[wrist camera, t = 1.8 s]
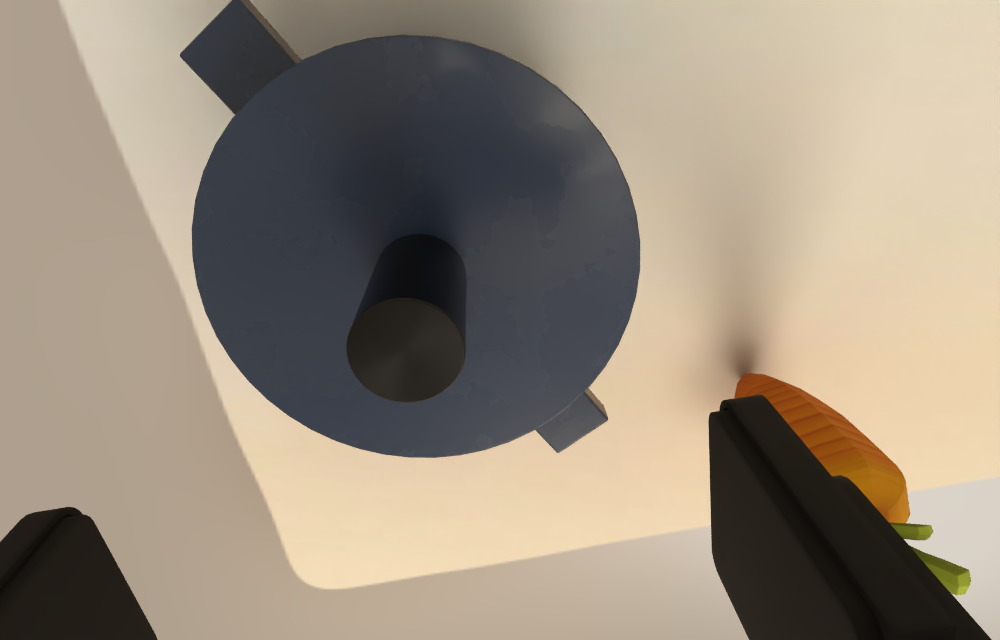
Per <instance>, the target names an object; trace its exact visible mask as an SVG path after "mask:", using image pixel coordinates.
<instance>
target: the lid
mask: <svg viewBox="0 0 1000 640" xmlns="http://www.w3.org/2000/svg"><path fill="white" fill-rule="evenodd" d="M192 253H193V263H194V269H195V275H196V281H197V286H198V289H199V293H200V296H201V299H202V302H203V305H204V309H205V312H206V314H207V316H208V318H209V321H210V323H211V325H212V327H213V329H214V331H215V334H216V336H217V338H218V339H219V341H220V342H221V344H222V346H223V347H224V349H225V350H226V352H227V354H228V355H229V357H230V358H231V360H232V361H233V362H234V364H235V365H236V366H237V367H238V369H239V370H240V371H241V372H242V374H243V375H244V376H245V377H246V379H247V380H248V381H249V382H250V383H251V384H252V385H253V386H254V387H255V388H256V389H257V390H258V391H259V392H260V393H261V394H262V395H263V396H264V397H265V398H267V399H268V400H269V401H270V402H271V403H273V404H274V405H275V406H277V407H278V408H279V409H280V410H282V411H283V412H284V413H286V414H287V415H288V416H290V417H291V418H293V419H295V420H296V421H298V422H300V423H301V424H303V425H305V426H306V427H308V428H310V429H311V430H313V431H316V432H318V433H320V434H322V435H324V436H326V437H328V438H331V439H333V440H335V441H338V442H341V443H344V444H347V445H350V446H353V447H356V448H358V449H362V450H367V451H371V452H376V453H380V454H385V455H394V456H402V457H426V458H436V457H446V456H456V455H463V454H468V453H473V452H477V451H482V450H486V449H489V448H492V447H495V446H498V445H501V444H504V443H508V442H510V441H512V440H514V439H517V438H519V437H521V436H523V435H525V434H527V433H530V432H532V431H533V430H535V429H537V428H538V427H540V426H542V425H543V424H545V423H547V422H548V421H550V420H552V419H553V418H554V417H556V416H557V415H558V414H559V413H561V412H562V411H563V410H565V409H566V408H567V407H569V406H570V405H571V404H572V403H573V402H574V401H575V400H576V399H577V398H578V397H579V396H580V395H581V394H582V393H583V392H584V391H585V390H586V389H587V388H588V387H589V386H590V385H591V384H592V383H593V382H594V380H595V379H596V378H597V376H598V375H599V374H600V373H601V371H602V370H603V369H604V368H605V366H606V365H607V363H608V361H609V360H610V358H611V356H612V355H613V353H614V351H615V350H616V348H617V346H618V345H619V342H620V340H621V338H622V335H623V333H624V331H625V328H626V326H627V324H628V322H629V319H630V315H631V312H632V308H633V305H634V301H635V298H636V293H637V286H638V279H639V272H640V237H639V230H638V222H637V215H636V211H635V207H634V203H633V200H632V196H631V193H630V189H629V186H628V183H627V181H626V179H625V177H624V174H623V172H622V170H621V167H620V165H619V163H618V160H617V158H616V157H615V155H614V154H613V152H612V150H611V149H610V147H609V145H608V144H607V142H606V140H605V139H604V137H603V136H602V134H601V132H600V131H599V130H598V129H597V128H596V126H595V125H594V124H593V123H592V122H591V120H590V119H589V118H588V117H587V115H586V114H585V113H584V112H583V111H582V109H581V108H580V107H578V106H577V105H576V104H575V103H574V102H573V101H572V100H571V99H570V98H569V97H568V96H567V95H565V94H564V93H563V92H562V91H561V90H560V89H559V88H558V87H556V86H555V85H554V84H552V83H551V82H549V81H548V80H546V79H545V78H543V77H542V76H541V75H539V74H538V73H536V72H535V71H533V70H532V69H530V68H529V67H527V66H525V65H523V64H521V63H519V62H517V61H515V60H513V59H511V58H509V57H507V56H505V55H503V54H501V53H499V52H496V51H493V50H490V49H487V48H484V47H481V46H478V45H475V44H472V43H469V42H464V41H459V40H454V39H448V38H443V37H438V36H421V35H395V36H385V37H374V38H367V39H362V40H358V41H354V42H350V43H346V44H342V45H338V46H335V47H332V48H330V49H327V50H325V51H322V52H320V53H318V54H315V55H313V56H310V57H308V58H305V59H304V60H302V61H300V62H299V63H297V64H295V65H294V66H292V67H290V68H289V69H287V70H285V71H284V72H282V73H280V74H279V75H277V76H276V77H275V78H273V79H272V80H271V81H270V82H268V83H267V84H266V85H265V86H264V87H262V88H261V89H260V90H259V91H258V92H256V93H255V94H254V95H253V96H252V97H251V98H250V99H249V100H248V101H247V103H246V104H245V105H244V106H243V107H242V108H241V109H240V110H239V111H238V113H237V114H236V115H235V116H234V117H233V118H232V120H231V121H230V123H229V124H228V126H227V127H226V129H225V130H224V132H223V133H222V135H221V137H220V138H219V140H218V141H217V143H216V144H215V147H214V149H213V151H212V153H211V155H210V158H209V160H208V162H207V164H206V167H205V169H204V171H203V174H202V178H201V182H200V185H199V189H198V192H197V196H196V200H195V207H194V216H193V224H192Z"/></svg>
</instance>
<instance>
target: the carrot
mask: <svg viewBox="0 0 1000 640" xmlns="http://www.w3.org/2000/svg"><path fill="white" fill-rule="evenodd" d="M753 395H763V396H764V397H766V398H767V399H768V401H769V402H770V403H771V404H772V405H773V406H774V408H775V409H776V410H777V411H778V412H779V414H780V415H781V416H782V417H783V418H784V420H785V421H786V422H787V423H788V424H789V426H790V427H791V428H792V429H793V430H794V431H795V433H796V434H797V435H798V436H799V437H800V439H801V440H802V441H803V442H804V443H805V445H806V446H807V447H808V448H809V449H810V451H811V452H812V453H813V454H814V455H815V457H816V458H817V459H818V460H819V461H820V462H821V464H822V465H823V466H824V467H825V468H826V470H827V471H828V472H829V473H830V474H831V476H838V475H842V476H844V477H847V478H849V479H850V480H851V481H852V482H853V483H854V484H855V485H856V486H857V487H858V488H859V489H860V490H861V491H862V492H863V494H864V495H865V496H866V497H867V498H868V499H869V500H870V502H871V503H872V504H873V505H874V506H875V507H876V508H877V510H878V511H879V512H880V513H881V514H882V515H883V516H884V518H885V519H886V520H887V521H888V522H889V523H890V524H891V526H892V527H893V528H894V529H895V530H896V531H897V532H898V534H899V535H900V536H901V537H902V538H903V539H911V540H926V539H928V538H929V537H930V536H931V534H932V533H933V530H932V527H931V525H919V524H906V522H907V520H908V518H909V516H910V510H909V502H908V495H907V488H906V481H905V478H904V476H903V474H902V472H901V471H900V469H899V468H898V467H897V466H896V465H895V464H894V463H893V462H892V461H891V460H890V459H889V458H888V457H887V456H886V455H885V454H884V453H883V452H882V451H881V450H880V449H879V448H878V447H877V446H876V445H875V444H874V443H872V442H871V441H870V440H869V439H868V438H867V437H866V436H865V435H864V434H863V433H862V432H860V431H859V430H858V429H857V428H856V427H855V426H854V425H853V424H851V423H850V422H849V421H848V420H847V419H846V418H845V417H844V416H842V415H841V414H840V413H838V412H837V411H835V410H834V409H832V408H831V407H829V406H828V405H826V404H825V403H823V402H822V401H820V400H818V399H817V398H815V397H813V396H812V395H810V394H808V393H807V392H805V391H803V390H802V389H800V388H797V387H795V386H792V385H790V384H787V383H785V382H783V381H780V380H778V379H775V378H772V377H769V376H766V375H763V374H753V373H750V374H747V375H744V376H742V377H741V379H740V380H739V382H738V383H737V388H736V392H735V398H741V397H747V396H753ZM910 547H911V546H910ZM911 548H912V550H913V551H914V552H915V553H916V554H917V555H918V556H919V557H920V559H921V560H922V561H923V562H924V563H925V564H926V565H927V567H928V568H929V569H930V570H931V571H932V572H933V573H934V575H935V576H936V577H937V578H938V579H939V580H940V581H941V583H942V584H943V585H944V586H945V587H946V588H947V589H948V591H949V592H950V593H952V594H955V595H962V594H965V593H966V591H967V589H968V588H969V586H970V582H971V577H970V573H969V570H968V569H965V568H963V567H960V566H958V565H956V564H953V563H951V562H948V561H945V560H943V559H940V558H937V557H935V556H932V555H929V554H926V553H924V552H922V551H920V550H918V549H915V548H913V547H911Z"/></svg>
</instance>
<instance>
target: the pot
mask: <svg viewBox="0 0 1000 640" xmlns="http://www.w3.org/2000/svg"><path fill="white" fill-rule="evenodd" d="M180 57H181V58H182V59H183V60H184V61H185V62H186V63H187V65H188V66H189V67H190V68H191V69H192V70H193V71H194V72H195V73H196V74H197V75H198V76H199V77H200V78H201V79H202V80H203V81H204V82H205V83H206V84H207V86H208V87H209V88H210V89H211V90H212V91H213V92H214V93H215V94H216V95H217V96H218V97H219V98H220V99H221V100H222V101H223V102H224V103H225V104H226V105H227V107H228V108H229V109H230V110H231V111H232V112H233V113H234V114H235V115H236V114H237V113H238V111H239V110H240V109H241V108H242V107H243V106H244V105H245V104H246V103H247V101H248V100H249V99H250V98H251V97H252V96H253V95H254V94H255V93H256V92H258V91H259V90H260V89H261V88H262V87H264V86H265V85H266V84H267V83H268V82H270V81H271V80H272V79H273V78H275V77H276V76H277V75H279V74H280V73H282V72H284V71H285V70H287V69H289V68H290V67H292V66H294V65H295V64H297V63H299V62H300V61H302V60H301V59H300V58H299V56H298V55H297V54H296V53H295V52H294V51H293V50H292V48H291V47H290V46H289V45H288V44H287V43H286V42H285V40H284V39H283V38H282V37H281V36H280V35H279V34H278V32H277V31H276V30H275V29H274V28H273V27H272V26H271V24H270V23H269V22H268V21H267V20H266V19H265V18H264V16H263V15H262V14H261V13H260V12H259V11H258V10H257V8H256V7H255V6H254V5H253V4H252V3H251V2H250V0H232V1H231V2H230V3H229V4H228V5H227V6H226V7H225V8H224V9H223V10H222V11H221V12H220V13H219V14H218V15H217V16H216V17H215V18H214V19H213V20H212V21H211V22H210V23H209V24H208V26H207V27H206V28H205V29H204V30H203V31H202V32H201V33H200V34H199V35H198V36H197V37H196V38H195V39H194V40H193V41H192V42H191V43H190V44H189V45H188V46H187V47H186V48H185V49H184V50H183V51H182V52H181V54H180ZM607 420H608V417H607V414H606V411H605V408H604V405H603V404H602V403H601V402H600V401H599V400H598V399H597V397H596V396H595V395H594V394H593V393H592V392H591V391H590V389H589V388H587V389H586V390H585V391H584V392H583V393H582V394H581V395H580V396H579V397H578V398H577V399H576V400H575V401H574V402H573V403H572V404H571V405H570V406H569V407H567V408H566V409H565V410H563V411H562V412H561V413H559V414H558V415H557V416H556V417H554V418H553V419H552V420H550V421H548V422H547V423H545V424H543V425H542V426H540V427H538V428H537V429H535V430H536V431H537V432H538V433H539V434H540V435H541V436H542V437H543V438H544V440H545V441H546V442H547V443H548V444H549V445H550V446H551V447H552V448H553V449H554V450H555V451H556V452H557V453H560V452H561V451H563V450H564V449H566V448H567V447H569V446H570V445H571V444H573V443H574V442H576V441H577V440H579V439H580V438H582V437H583V436H585V435H586V434H588V433H589V432H591V431H592V430H594V429H595V428H597V427H598V426H600V425H601V424H603V423H604V422H606V421H607Z"/></svg>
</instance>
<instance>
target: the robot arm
mask: <svg viewBox="0 0 1000 640" xmlns="http://www.w3.org/2000/svg"><path fill="white" fill-rule="evenodd" d="M709 454H710V495H711V533H712V534H711V535H712V554H713V559H714V563H715V566H716V570H717V572H718V575H719V577H720V579H721V581H722V583H723V585H724V587H725V590H726V592H727V593H728V596H729V598H730V600H731V602H732V604H733V606H734V609H735V611H736V613H737V615H738V617H739V619H740V621H741V623H742V625H743V628H744V629H745V632H746V634H747V636H748V638H749V640H991V639H990V637H989V636H988V635H987V634H986V633H985V632H984V631H983V629H982V628H981V627H980V626H979V625H978V624H977V623H976V622H975V620H974V619H973V618H972V617H971V616H970V615H969V613H968V612H967V611H966V610H965V609H964V608H963V607H962V605H961V604H960V603H959V602H958V601H957V600H956V599H955V597H953V595H952V594H951V593H950V592H949V591H948V589H947V588H946V587H945V586H944V585H943V584H942V583H941V581H940V580H939V579H938V578H937V577H936V576H935V575H934V573H933V572H932V571H931V570H930V569H929V568H928V567H927V565H926V564H925V563H924V562H923V561H922V560H921V559H920V557H919V556H918V555H917V554H916V553H915V552H914V551H913V550H912V548H911V547H910V546H909V545H908V544H907V543H906V542H905V540H904V539H903V538H902V537H901V536H900V535H899V534H898V532H897V531H896V530H895V529H894V528H893V527H892V526H891V524H890V523H889V522H888V521H887V520H886V519H885V518H884V516H883V515H882V514H881V513H880V512H879V511H878V510H877V508H876V507H875V506H874V505H873V504H872V503H871V502H870V500H869V499H868V498H867V497H866V496H865V495H864V494H863V492H862V491H861V490H860V489H859V488H858V487H857V486H856V485H855V484H854V483H853V482H852V481H851V480H850V479H849V478H847V477H844V476H842V475H838V476H831V474H830V473H829V472H828V471H827V470H826V468H825V467H824V466H823V465H822V464H821V462H820V461H819V460H818V459H817V458H816V457H815V455H814V454H813V453H812V452H811V451H810V449H809V448H808V447H807V446H806V445H805V443H804V442H803V441H802V440H801V439H800V437H799V436H798V435H797V434H796V433H795V431H794V430H793V429H792V428H791V427H790V426H789V424H788V423H787V422H786V421H785V420H784V418H783V417H782V416H781V415H780V414H779V412H778V411H777V410H776V409H775V408H774V406H773V405H772V404H771V403H770V402H769V401H768V399H767V398H766V397H764V396H763V395H753V396H747V397H741V398H735V399H729V400H723V401H722V402H721V405H720V411H717V412H711V413H710V415H709ZM0 640H157V637H156V635H155V633H154V631H153V630H152V627H151V626H150V624H149V622H148V620H147V618H146V616H145V615H144V613H143V611H142V609H141V607H140V606H139V604H138V602H137V600H136V598H135V596H134V594H133V593H132V591H131V589H130V587H129V585H128V583H127V582H126V580H125V578H124V576H123V574H122V573H121V571H120V569H119V567H118V565H117V563H116V561H115V560H114V558H113V556H112V554H111V552H110V550H109V549H108V547H107V545H106V543H105V541H104V539H103V538H102V536H101V534H100V532H99V530H98V528H97V527H96V525H95V523H94V521H93V520H92V519H91V518H90V517H89V516H87V515H83V514H82V513H81V512H80V511H79V510H77V509H76V508H73V507H65V508H59V509H53V510H47V511H41V512H35V513H32V514H28V515H26V516H25V517H24V518H22V519H21V520H20V521H19V522H18V523H17V524H16V525H15V526H14V528H13V529H12V530H11V531H10V532H9V533H8V534H7V535H6V537H4V539H3V540H2V541H1V542H0Z"/></svg>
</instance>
